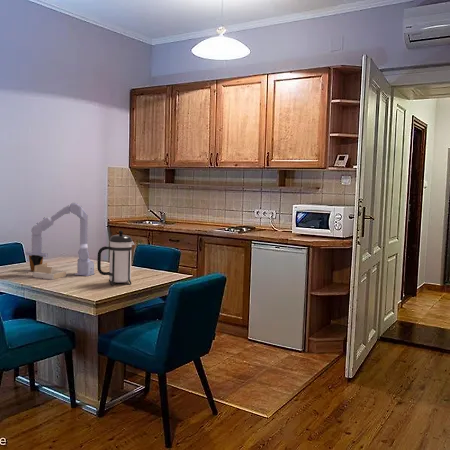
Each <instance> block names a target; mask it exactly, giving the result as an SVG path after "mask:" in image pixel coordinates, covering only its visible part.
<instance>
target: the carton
mask: <svg viewBox="0 0 450 450" xmlns="http://www.w3.org/2000/svg"><path fill="white" fill-rule="evenodd" d="M65 277H67V271H66V270H58V269H52V270H51V273H42V272H34V271H32V278H36V279H42V278H43V280H50V281H51V280H54V281H55V280H58V279H61V278H65Z"/></svg>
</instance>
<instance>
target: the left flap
mask: <svg viewBox="0 0 450 450" xmlns="http://www.w3.org/2000/svg"><path fill="white" fill-rule="evenodd" d="M51 270H53V267H51V266H47V267H43V266H38V267H37V271H36V272H42V273H51Z"/></svg>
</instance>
